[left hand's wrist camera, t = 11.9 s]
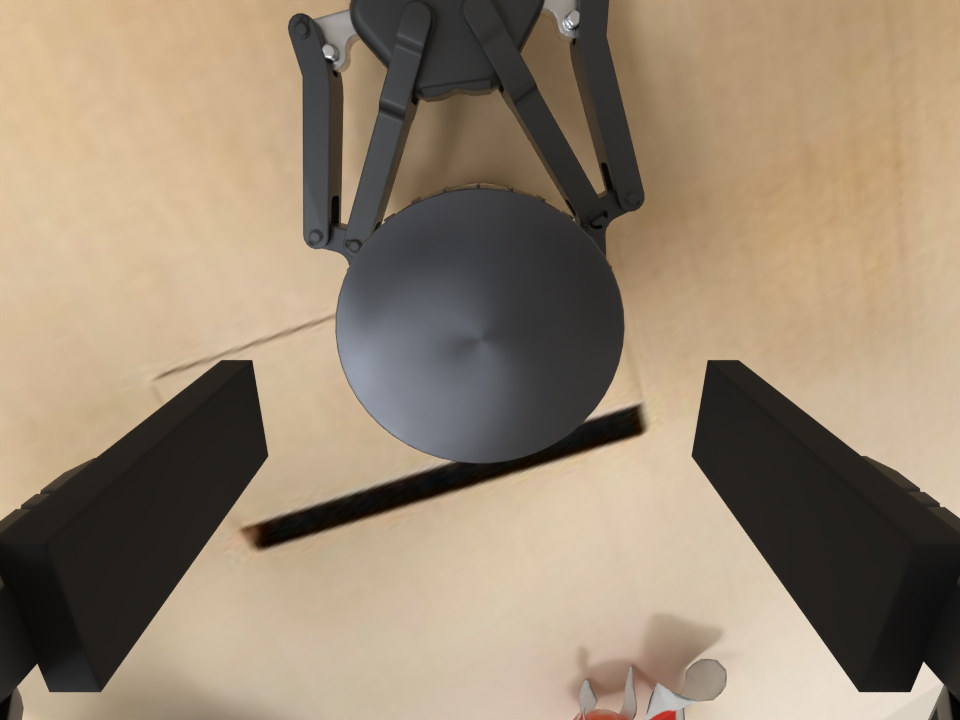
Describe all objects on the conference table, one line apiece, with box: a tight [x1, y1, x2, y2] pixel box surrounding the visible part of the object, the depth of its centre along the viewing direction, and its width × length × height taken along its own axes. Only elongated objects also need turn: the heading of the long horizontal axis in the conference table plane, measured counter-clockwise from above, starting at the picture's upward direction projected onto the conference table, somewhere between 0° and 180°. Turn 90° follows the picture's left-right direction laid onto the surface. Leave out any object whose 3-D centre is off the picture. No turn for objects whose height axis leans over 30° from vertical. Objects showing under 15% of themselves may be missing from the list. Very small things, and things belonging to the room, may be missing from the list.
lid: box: [336, 182, 624, 463], centre depth 19 cm, size 10×10×2 cm
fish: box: [573, 659, 727, 720], centre depth 43 cm, size 11×16×10 cm
